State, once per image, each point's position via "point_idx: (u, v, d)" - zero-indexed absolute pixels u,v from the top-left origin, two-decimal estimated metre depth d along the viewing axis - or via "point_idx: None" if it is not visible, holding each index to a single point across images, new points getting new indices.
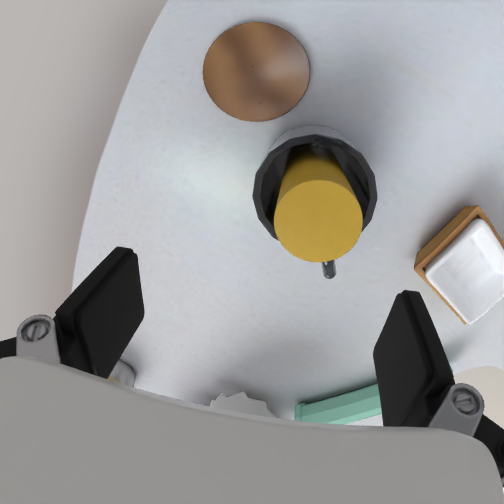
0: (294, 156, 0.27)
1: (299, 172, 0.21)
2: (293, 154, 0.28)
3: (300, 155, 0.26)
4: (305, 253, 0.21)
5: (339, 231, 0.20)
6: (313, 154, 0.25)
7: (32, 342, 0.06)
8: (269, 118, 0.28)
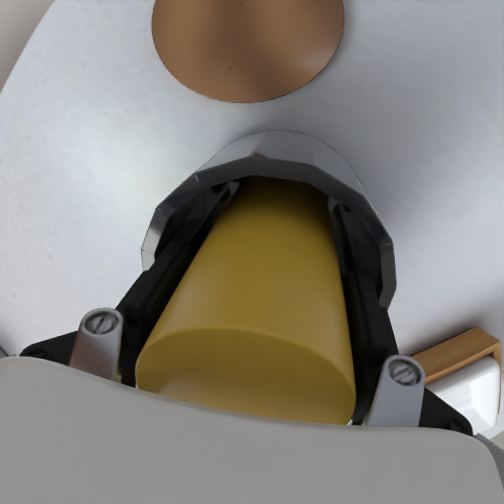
0: (255, 183, 0.14)
1: (239, 255, 0.08)
2: (256, 176, 0.16)
3: (265, 188, 0.13)
4: None
5: None
6: (291, 196, 0.13)
7: (93, 335, 0.07)
8: (237, 100, 0.15)
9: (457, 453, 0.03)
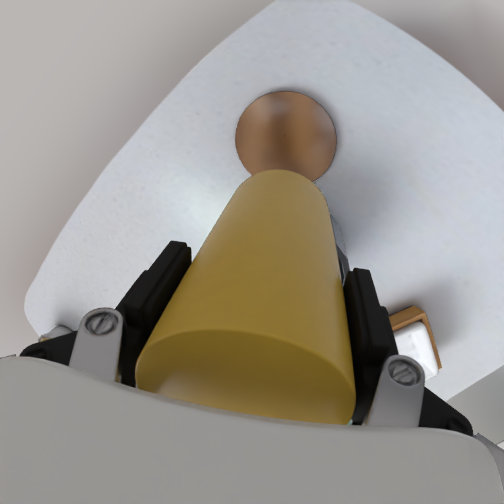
0: (255, 184, 0.14)
1: (239, 256, 0.08)
2: (256, 177, 0.16)
3: (265, 188, 0.13)
4: None
5: None
6: (291, 197, 0.13)
7: (93, 335, 0.07)
8: None
9: (457, 453, 0.03)
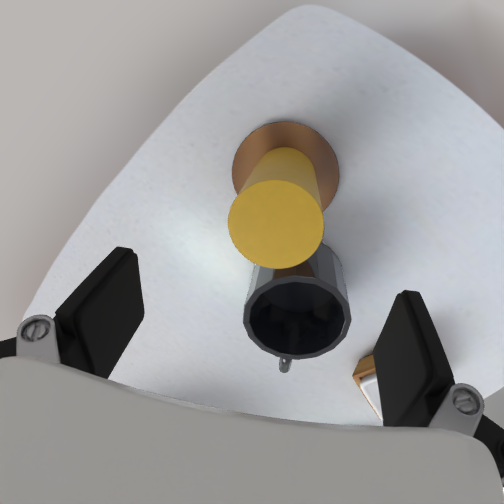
0: (272, 152, 0.26)
1: (272, 168, 0.20)
2: (272, 150, 0.27)
3: (279, 153, 0.25)
4: (251, 253, 0.19)
5: (294, 241, 0.19)
6: (293, 156, 0.24)
7: (31, 342, 0.06)
8: None
9: (457, 453, 0.03)
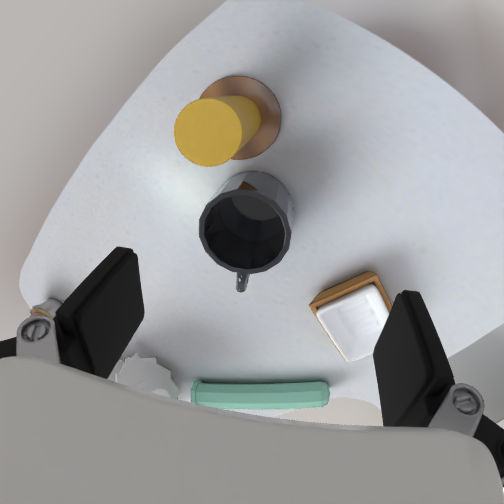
0: None
1: None
2: None
3: None
4: (191, 154, 0.25)
5: (221, 143, 0.24)
6: (235, 96, 0.29)
7: (31, 342, 0.06)
8: (234, 158, 0.36)
9: (457, 453, 0.03)
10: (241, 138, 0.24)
